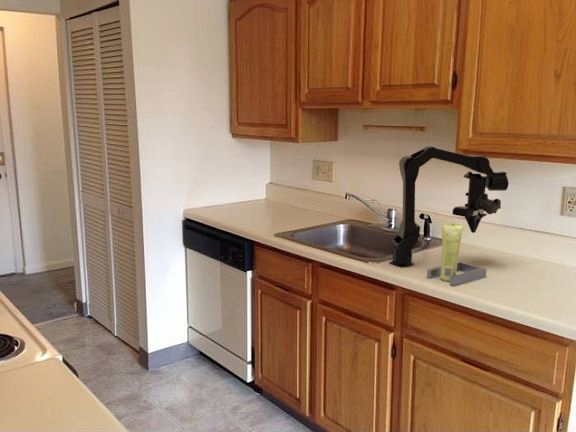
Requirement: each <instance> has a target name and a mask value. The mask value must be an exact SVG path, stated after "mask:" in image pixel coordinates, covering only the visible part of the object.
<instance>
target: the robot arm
mask: <svg viewBox="0 0 576 432" xmlns="http://www.w3.org/2000/svg"><path fill="white" fill-rule="evenodd" d="M477 155H478V154H477ZM477 155H476V154H460V153H457V152H452V151H448V150H444V149H442V148H441V149H439V148H436V147H434V146H432V145H431V146H430V145H426V146H425V147H424V148H422V149H420V150H418V151H416V152H414V153H412V154H410V155H405V156H403V157H401V159H400V160H399V162H398V166H399V171H400V176H401V180H402V219H401V222H400V225H399V229H398V234H396V236H395V237H393V238H392V240H391V242H392V244H393V247H392V260H391V261H389V262H388V263H389V264H390V265H394V266H396V267H397V266H398V267H400V268H404V267H409V266H412V265H415V263H414V262H413V261H412V260H413V253H412V250H413V248H414V246H415V245H416V244H417V243H418V242H419V238H421V234H420V232H421V226H420V225H419V224H417V222H416V220H415V219H416V214H415V213H416V181H417V179H418V176H419V173H420V168H421V167H423V166H424V165H425V164H427V163H428V162H429V161H430V160H432V159H436V160H440V161H444V162H448V163H452V164H456V165H460V166H462V167H464V168H467V169H469V170H471V171H469V170H468V171H467V172H466V173H465V174H464V175H463V178H465V179H468V189H467V190H468V191H467V192H465V196H466V197H467V203H464V206H462V205H460V206H455V207H453V208H452V215H454V216H459V217H462V218H465V220H466V223H467V225H468V227H469V229H470V232H471V233H472V234H474V233H475V234H476V232H477V229H478V227H479V224H480V222H481V220H482V219H483V218H484V217H486V216H488V215H492V214H497V212H498V210H501V209H502V207H501V204H502V203H501V201H502V200H500V199H499V198H494V199H489V195H488V193H486V189H487V190H488V191H489V192H490V191H492V192H493V191H496V192H497V191H498V192H499V191H500V192H501V191H507V190H508V188H509V183H510V182H509V180H508V176H507V172H506V171H498V172H496V171H494V170H493V168H492V167H491V163H490V160H489V158H487V157H486V156H482V155H478V156H477ZM472 171H474V172H475V173H473V172H472Z"/></svg>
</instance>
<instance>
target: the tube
mask: <svg viewBox="0 0 576 432" xmlns="http://www.w3.org/2000/svg"><path fill="white" fill-rule="evenodd" d="M464 226H465V225H464V223H462V222H461V223H460V222H459V223H456V222H455V223H453V222H449V223H448V222H442V223H441V232H442V233H441V237H442V238H441V261H440V263H441V264H440V266H441V276H439V278H440V280H442V281H445V282H450V276H454V275H457V272H456V271H457V263H458V260H459V254H460V247H461V241H462V236H463V235H462V234H463V231H464Z"/></svg>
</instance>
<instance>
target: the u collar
mask: <svg viewBox="0 0 576 432" xmlns="http://www.w3.org/2000/svg"><path fill="white" fill-rule="evenodd" d="M487 269H488V268H485V267H482V266H479V265H475V264H471V263H468V262H464V261H460V260H459V261H458V263H457V271H456V273H457V272H461V273H458V274H456V275H454V276H450V281H449V286H451V287H457V286H460V285H463V284H466V283H470V282H474V281H477V280H481V279H484V278H486V277H487ZM440 276H441V265H439V266H435V267H431V268H430V267H429V268H427V269H426V278H428V279H435V278H437V277H439V278H440Z"/></svg>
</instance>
